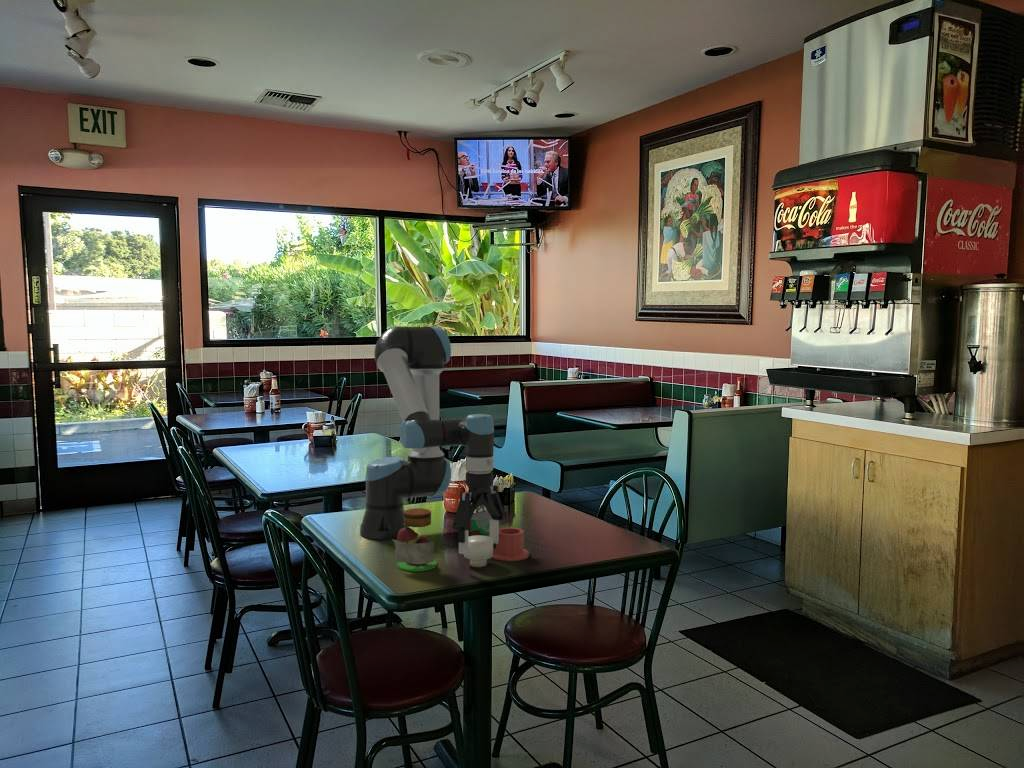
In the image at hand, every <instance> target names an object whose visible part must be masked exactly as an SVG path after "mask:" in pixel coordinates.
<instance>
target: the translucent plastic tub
mask: <svg viewBox="0 0 1024 768" xmlns="http://www.w3.org/2000/svg"><path fill="white" fill-rule="evenodd" d="M431 524H432V511H431V510H430V509H427V508H420V507H418V508H416V507H415V508H414V507H413V508H408V509H406V510H404V525H405V526H409V528H408V527H407V528H402V529H400V530H399V532H398V537H397V538H396V539H391V541H393V543H394V546H395V547H394V548H395V555H394V556H395V558H394V559H395V561H397V567H398V569H400V570H403V571H407V572H425V571H426V572H427V571H430V570H432V569H434V568H436V567H437V566H438V564H437V561H436V560H435V557H434V556H435V555H434V550H435V542H434V541H430V540H429V538H428V537H427V536H425V535H420V536H419V533H418V532H416V531H415V530H414V529H412V528H425V527H427V526H430V525H431ZM412 541H414V542H413V543H411V542H412Z"/></svg>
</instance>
